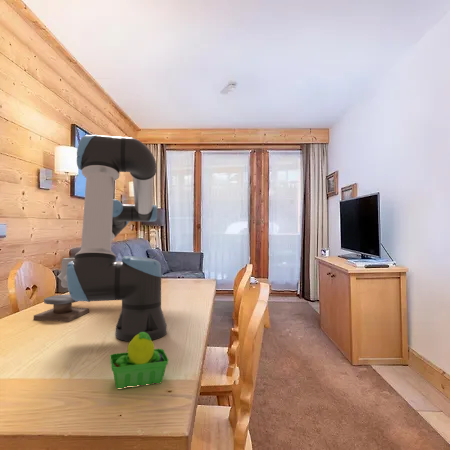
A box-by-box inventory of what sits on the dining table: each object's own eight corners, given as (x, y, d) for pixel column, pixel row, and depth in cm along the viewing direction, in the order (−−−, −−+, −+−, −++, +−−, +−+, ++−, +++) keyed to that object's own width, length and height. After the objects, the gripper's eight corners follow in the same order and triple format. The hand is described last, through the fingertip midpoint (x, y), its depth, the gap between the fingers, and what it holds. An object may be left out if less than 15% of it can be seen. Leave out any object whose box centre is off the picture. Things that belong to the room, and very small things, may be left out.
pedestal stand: (67, 321, 112) (68, 302, 112) (33, 319, 114) (33, 301, 114) (89, 312, 125) (89, 295, 125) (57, 310, 127) (58, 293, 127)
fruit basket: (162, 370, 75) (162, 320, 75) (170, 387, 67) (170, 332, 67) (109, 377, 71) (110, 325, 71) (111, 397, 63) (111, 338, 63)
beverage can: (81, 285, 140) (81, 257, 140) (72, 288, 134) (72, 258, 134) (66, 285, 141) (67, 257, 141) (57, 288, 134) (58, 258, 134)
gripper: (117, 245, 143) (79, 288, 130) (97, 244, 156) (60, 282, 143) (106, 233, 139) (65, 275, 127) (86, 233, 152) (47, 271, 140)
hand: (63, 279), depth 135 cm, fingers closed on beverage can, 6 cm apart
